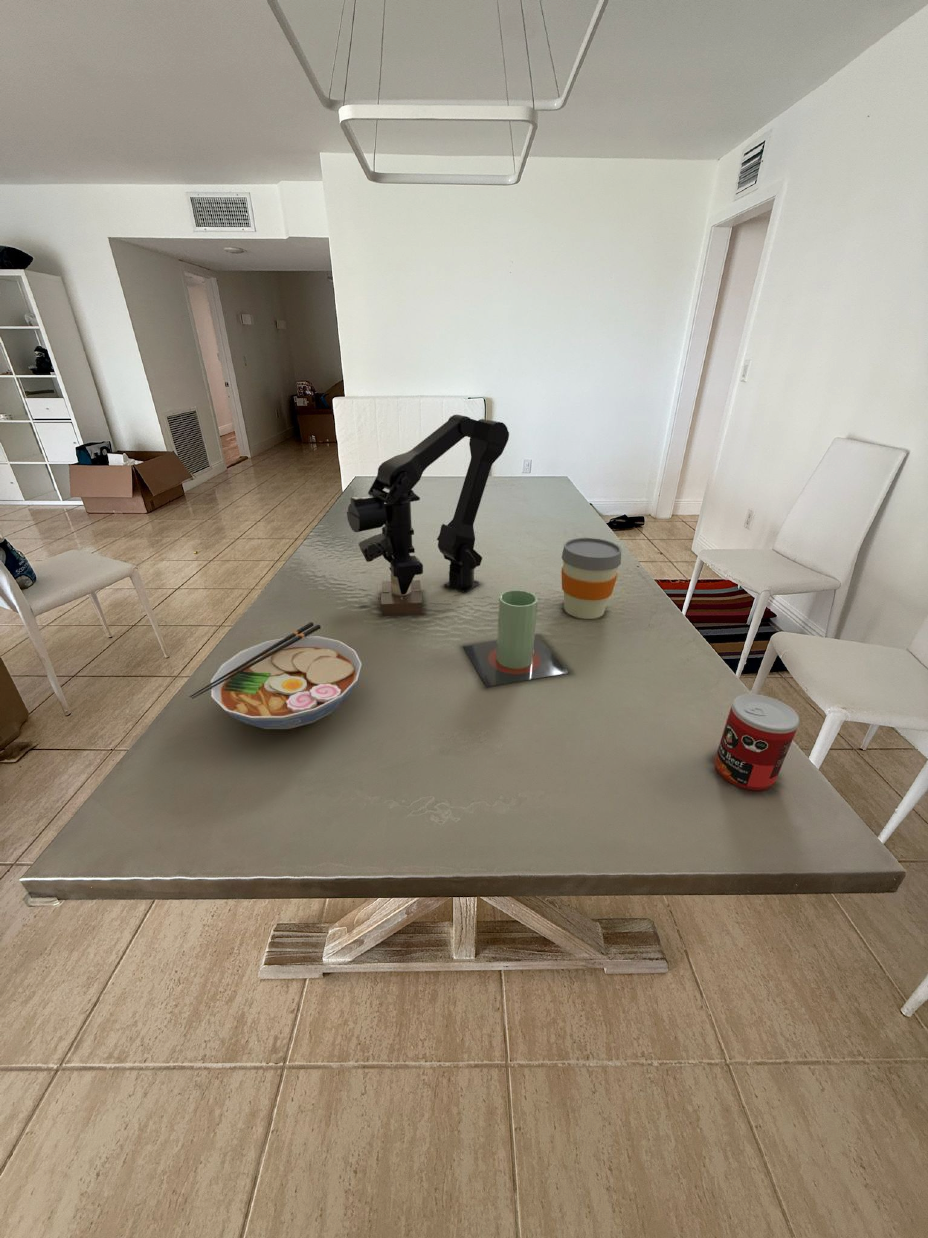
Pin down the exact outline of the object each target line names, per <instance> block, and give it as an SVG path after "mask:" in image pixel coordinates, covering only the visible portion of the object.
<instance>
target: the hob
mask: <svg viewBox="0 0 928 1238" xmlns="http://www.w3.org/2000/svg"><path fill="white" fill-rule="evenodd" d="M463 649H464V651H465V653H466V654H467V656H468V657H469V659H470V661H471V662H472V664H473V666H474V668H475V670H476V671H477V673H478V675H479V677H480V679H481V680H482V682H483V684H484V685H485V687H486V688H491V687H497V686H503V685H508V684H514V683H519V682H520V683H521V682H526V681H530V680H538V679H543V678H549V677H556V676H560V675H567V674H570V672H569V671H568V670H567V669H566V668H565V666H564V665H563V664H562V663H561V662H560V660H559V659H558V658H557V656H555V654H554V653H553V652H552V651H551V650H550V649H549V647H548V646H547V645H546V643H544V641H543V640H542V639H541V638H540V636H539V635H535V636H534V647H533V658H532V662H531V664H530V665H529V666H527V667H525V668H520V669H512V668H507V667H504V666H502V665H501V664H499V663H498V661H497V659H496V650H497V641H492V642H485V643H479V644H472V645H466V646H465V645H464V646H463Z"/></svg>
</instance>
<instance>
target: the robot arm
mask: <svg viewBox="0 0 928 1238" xmlns="http://www.w3.org/2000/svg"><path fill="white" fill-rule="evenodd" d="M509 437H510V431H509V430H508V427H507V425H506V424H505V423H504V422H502V421H496V420H490V419H486V418H481V419H478V420H476V419H473V418H471V417H470V416H466V415H462V414H453V415H451V416H449V418H448V420H447V421H446V422H444V423H443V424H442V425H440V426H439V427H438V428H437V429H435V430H434V431H433V432H432V433H431V434H429V435H428V436H426V437H425V438H424V439H423V440H422V441H421V442H419V443H418V444H417V445H415V446H414V447H413V448H412V449H410V450H409V451H407V452H403V453H400V454H397V455H395V456H393V457H391V458H388V459H387V460H385V461H383V462H382V463H381V464H380V465H379V466H378V468H377V474H376V477H375V479H374V480H373V482H372V484H371V486H370V488H369V489H368V492H367V495H366V496H365V495H364V496H353V497H350V503H349V504H348V507H347V511H346V519H347V522H348V524H349V527H350V529H351V531H353V532H354V533H360V532H366V531H371V530H376V529H379V528H381V533H378V534H374V535H372V536H370V537H368V538H365V539H364V540H361V541H360V542H359V543H358V547H359V549H360V551H361V553H362V556H363V557H364V559H365V561H366V562H367V563H371V562H372V561H374V560H376V559H377V558H380V557H382V556H383V559H385V561H387V562H388V563H389V567H388V569H389V570H390V573H391V572H392V574H393V576H394V577H397V579H398V583H399V588H400V591H401V594H406V593H407V591H408V588H409V586H410V584H411V582H412V580H413V579H414V578H415V576H418V575H422V574H424V564H423V562H422V561H421V559H420V558H419V557H417V556H416V555H411V554H415V553H416V551H415V549H416V548H415V547H414V545H413V536H414V535H415V529H414V528H413V526H412V502H419V501H420V500H421V497H420V496H419V495H417V494H416V493H415V492H414V490H413V488H415V486H417V484H418V483H419V482H420V480H421V478H422V476H423V473H424V472H425V471H426V469H427V468H429V467H430V466H431V465H432V464H433V463H435V462H436V461H437V460H438V459H439V458H440V457H442V456H443V455H444V454H446V453H447V452H448V451H449V450H450V449H452V448H453V447H454V446H456V445H457V444H458V443H459V442H460V441H461V440H463V439H465V438H469V443H468V446H469V451H470V461H469V464H468V468H467V471H466V475H465V477H464V482H463V484H462V488H461V491H460V494H459V497H458V501H457V505H456V507H455V511H454V514H453V517H452V519H451V520H450V522H449V523H448V524H445V523H442V524H441V526H440V530H439V534H438V535H437V538H436V541H437V548H438V550H439V552H440V553H441V554H442V556H443V558H444V560H447V561H449V562H450V563H449V571H448V581H447V582H446V583H444V584H443V585H444V587H445V588H448V589H450V590H451V589H452V590H455V591H458V592H462V593H468V592H470V591H471V590H473V589H474V588H475V587H476V586H479V585H480V582H479V581H478V580H475V570H476V568H477V567H480V566H481V564H482V560H483V556H481V555H480V553H479V552H477V551H476V550H475V549H474V548H475V542H476V535H475V529H474V524H475V521H476V517H477V515H478V511H479V508H480V505H481V501H482V499H483V495H484V491H485V488H486V485H487V482H488V479H489V476H490V472H491V470H492V466H493V464H494V463H495V462H496V461H497V459H499V458H500V457H501V455H503V453H504V451H505V448H506V446H507V444H508V441H509V439H510V438H509ZM384 489H386V490H388V491H385V490H384Z"/></svg>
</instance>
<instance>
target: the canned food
mask: <svg viewBox="0 0 928 1238" xmlns="http://www.w3.org/2000/svg"><path fill="white" fill-rule="evenodd" d="M799 723H800V717H799V715H798V713H797V712H796V710H794V709H793V708H792V707H791V706H789V705H788V704H786V703H784V702H783V701H780V700H779V699H776V698H774V697H770V696H768V695H767V696H766V695H762V694H757V693H756V694H754V693H746V694H741V695H738V696H737V697H735V698H734V700H733V702H732V704H731V706H730V710H729V713H728V716H727V718H726V722H725V726H724V728H723V731H722V734H721V738H720V741H719V745H718V748H717V751H716V753H715V756H714V757H715V758H714V763H715V767H716V768H715V769H716V771H717V772H718V773H719V775H720V776H721V778H723V779H724V780H726V781H727V782H729V783H730V784H732V785H734V786H735V787H738V788H741V789H744V790H750V791H764V790H767V789H769V788H771V786H773V785H774V783H775V782H776V781H777V778H778V777H779V773H780V771H781V769H782V767H783V765H784V762H785V760H786V757H787V754H788V752H789V750H790V747H791V745H792V743H793V740H794V738H795V735H796V733H797V730H798V727H799Z"/></svg>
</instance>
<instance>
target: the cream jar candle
mask: <svg viewBox="0 0 928 1238" xmlns="http://www.w3.org/2000/svg"><path fill="white" fill-rule="evenodd" d="M390 581H391V589H392V593H393V594H395V595H407V594H409V593H410V592H411V584H410V586H409V588H408V591H407V593H406V594H401V591H400V588H399V583H398V579H397V577H394V576H393V574H392V572H391V571H390Z"/></svg>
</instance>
